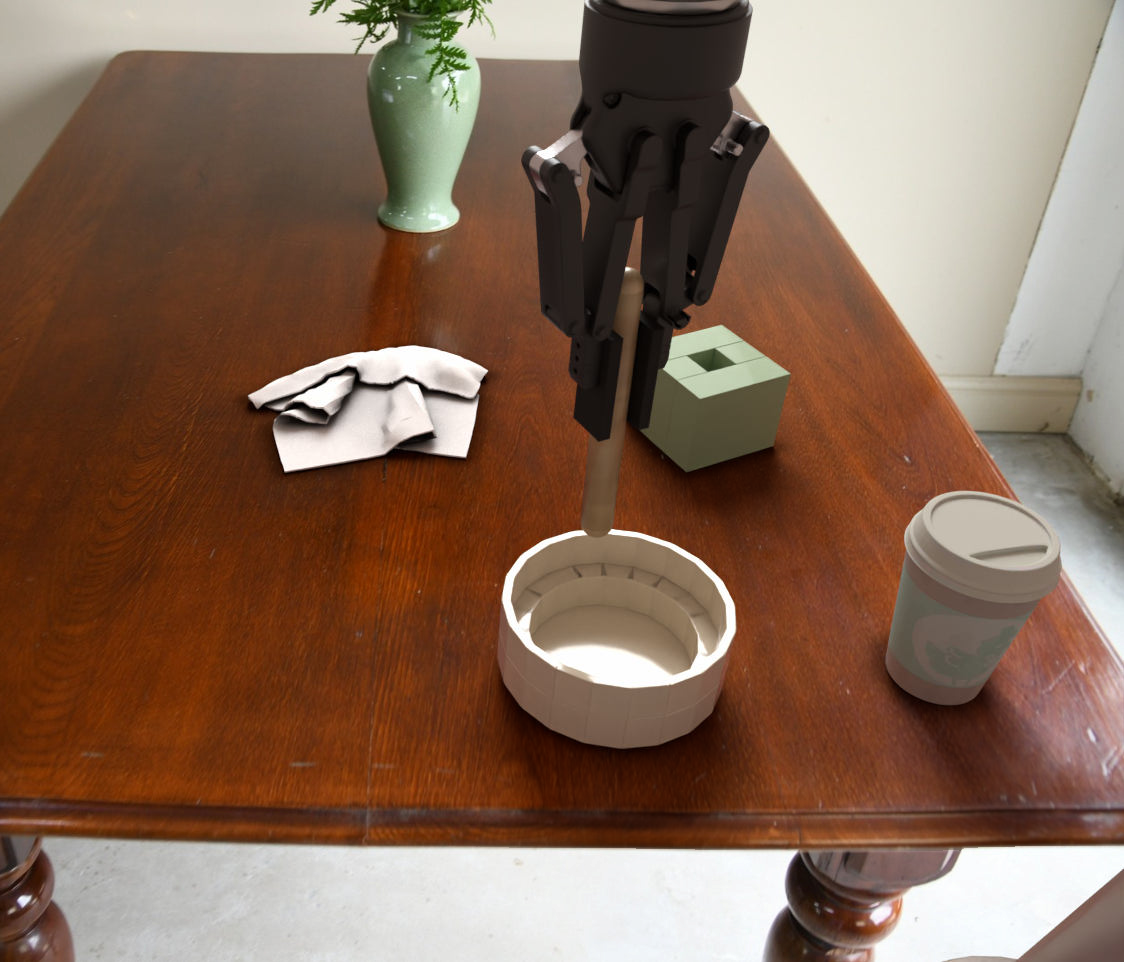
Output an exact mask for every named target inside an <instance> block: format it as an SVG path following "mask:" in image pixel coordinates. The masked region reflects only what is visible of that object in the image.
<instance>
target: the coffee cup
mask: <svg viewBox="0 0 1124 962" xmlns="http://www.w3.org/2000/svg"><path fill="white" fill-rule="evenodd" d="M903 541H904V546H905V554H904V560H903V564H902V569H901V573H900V574H901V575H900V578H899V579H900V580H899V585H898V590H897V594H896V601H895V606H894V611H893V616H892V621H891V627H890V631H889V637H888V643H887V648H886V653H885V659H884V661H885V668H886V670H887V672H888V674H889V676H890V678H892V680H893V681H894V682H895V683H896V684H897V686H899V687H900V688H902V689H903V691H905V692H907V693H908V694H910V695H911V696H913V697H916V698H917V699H920V700H922V701H924V702H927V703H932V704H934V705H935V704H936V705H942V706H959V705H964V704H966V703H968V702H970V701H972V700H974V699H975V698H976V697H977V696H978V695H979V693H980V691H981V690H982V689H983V688H984V686H985V684H986V683H987V682H988V680H989V678H990V677H991V675H992V674H993V672H995V669H996V668H997V666H998V665H999V663H1000V662H1001V661H1002V659H1003V657H1004V656H1005V654H1006V653H1007V652H1008V650H1009V649H1010V647H1011V645H1012V644H1013V642H1014V641H1015V639H1016V638H1017V636H1018V635H1019V633H1020V632H1021V630H1022V629H1023V627H1024V626H1025V624H1026V623H1027V621H1028V620H1029V618H1031V617H1030V616H1031V615H1032V614H1033V613H1034V610H1035V609H1036V608H1037V606H1038V605H1039V603H1040V602H1041V600H1042V599H1043V598H1044V597H1047V596H1049V594H1051V593H1052V592H1054V590H1055V589H1056V588H1057V586H1058V584H1059V583H1060V578H1061V572H1062V568H1063V566H1062V564H1063V563H1062V558H1061V541H1060V538H1059V536H1058V534H1057V532H1056V530H1055V529H1054V528H1053V526H1052V525H1051V524H1050V523H1049V522H1048V521H1047V520H1046V519H1045V518H1044V517H1042V515H1040V514H1039V513H1038V512H1036V511H1035V510H1032V509H1031V508H1029V507H1028V506H1026V505H1023V504H1021V503H1019V502H1017V501H1015V500H1012V499H1010V498H1008V497H1004V496H1001V495H998V494H993V493H989V492H984V491H974V490H956V491H949V492H945V493H942V494H940V495H936V496H935V497H933V498H931V499H930V500H929V501H928V502H927V503H926V504H925V506H924V507H923V508H922V509H921V510H919V511H918V512H917V513H916V514H915V515H914V516H913V517H912V519H911V521H910V523H909V524H908V525H907V526H906V528H905V531H904V537H903Z"/></svg>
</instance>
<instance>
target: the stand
mask: <svg viewBox="0 0 1124 962" xmlns="http://www.w3.org/2000/svg"><path fill="white" fill-rule="evenodd" d="M670 345H671V347H670V350H669V351H670V353H669V359H668V361H667V363H666V365H665V367H664V368H662V369H659V370H658V374H657V380H656V386H655V393H654V399H653V405H652V411H651V417H650V424H649V428H646V429H643V430H639V431H640V433H642V434H643V435H644V436H645V437H646V438H647V439H648V440H649V441H650V442H651V443H653V444H654V445H655V446H656V447H657V448H658V449H660V451H662V452H663V453H664V454H665V455H666V456H667V457H668V458H670V459H671V460H672V461H673V462H674V463H675V464H676V465H677V466H679V468H681V469H682V470H683V471H684V472H685V473H689V472H692V471H695V470H698V469H702V468H706V467H709V466H713V465H715V464H718V463H722V462H726V461H728V460H729V461H730V460H733V459H736V458H738V457H742V456H746V455H749V454H752V453H755V452H758V451H762V450H765V449H768V448H771V447H774V445H775V442H776V437H777V433H778V429H779V425H780V422H781V416H782V413H783V409H784V405H785V400H786V396H787V392H788V389H789V388H788V387H789V384H790V380H791V375H792V374H791V372H789V371H788V370H787V369H785V368H783V367H782V366H780V365H779V364H778V363H777V362H775V361H774V360H772V359H771V358H769V357H768V356H766V355H765V354H763V353H762V352H761V351H759V350H758V349H756V348H755V347H754V346H752V345H751V344H750V343H748V342H747V341H745V340H744V339H743V338H741V337H739V336H738V335H737V334H735V333H734V332H732V330H730V329H728V328H727V327H726V326H724V325H723V324H719V325H715V326H710V327H708V328H703V329H699V330H695V331H692V332H687V333H683V334H680V335H675V336H672V341H671V344H670Z"/></svg>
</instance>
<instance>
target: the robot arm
mask: <svg viewBox="0 0 1124 962" xmlns="http://www.w3.org/2000/svg"><path fill="white" fill-rule="evenodd" d="M753 11H754V7H753V6H752V4H751V3H750V0H584V2H583V12H582V13H583V15H582V23H581V34H580V43H579V44H580V45H579V56H578V69H579V75H580V82H581V94H580V98H579V101H578V103H577V105H576V107H575V109H574V111H573V113H572V115H571V118H570V120H569V131H568V132H567V133H566V134H564V135H562V136H561V137H560V138H559V139H557V140H556V141H555V142H554V143H552V144H551V145H549V146H548V147H547V148H546V149H543V148H541V147H540V146H538V145H531V146H529V147H527V148H526V149H525V150H524V151H523V152H522V155H521V159H520V161H521V166H522V169H523V170H524V173H525V175H526V177H527V180H528V182H529V183H530V186H531V188H532V190H533V196H534V211H535V213H534V215H535V231H536V249H537V264H538V265H537V268H538V283H539V285H538V286H539V300H540V301H539V302H540V313H541V315H542V316H543V317H545V319H546V320H547V321H549V322H550V324H552V325H553V326H554V327H556V329H558V330H559V331H560V332H561V333H562V334H563V335H565V336H566V337H567V338H569V339H571V340H570V351H569V360H568V361H569V362H568V368H567V369H568V370H567V372H568V375H569V377H570V379H572V380H573V381H574V383H576V388H575V389H576V390H575V398H574V407H573V416H572V418H573V419H574V421H576V422H577V423H578V424H579V425H580V426H581V427H582V428H583V429H585V430H586V431H587V433H589V435H590V434H591V435H592V436H593V437H594V438H595V439H596V440H597V441H598V442H600V441H604V440H607V439H610V434H611V427H612V420H613V412H614V405H615V398H616V390H617V383H618V376H619V369H620V361H621V354H622V347H623V339H624V338H622V337H621V336H620V335H619V334H618V333H616V332H615V331H614V330H613V324H614V319H615V315H616V310H617V306H618V301H619V297H620V292H621V287H622V283H623V278H624V274H625V269H626V267H627V265H628V259H629V254H630V250H631V246H632V241H633V236H634V232H635V227H636V224H637V223H636V222H637V220H639V219H641V218H642V224H641V244H640V245H641V246H640V264H639V273H640V274H641V276H642V278H643V282H644V290H643V297H642V308H641V313H640V321H639V328H638V336H637V344H636V351H635V359H634V367H633V375H632V382H631V390H630V398H629V405H628V413H627V421H626V422H628V423H629V425H631V426H632V427H633V428H634V429H635V430H636V431H638V432H639V431H640V430H643V429H646V428H649V424H650V417H651V411H652V405H653V399H654V393H655V386H656V380H657V374H658V370H659V369H662V368H664V367H665V365H666V363H667V361H668V359H669V353H670V351H669V350H670V347H671V345H670V344H671V341H672V337H673V335H674V330H677V331H681V330H683V329H685V328H686V327H687V326H688V325H689V324H690V322H691V319H692V316H691V315H689V314H688V313H687V312H686V311H685V309H687V308H689V307H690V306H692V305H695V306H696V307H701V306H705V304H707V303H708V302H709V301H710V299H711V297H712V294H713V291H714V289H715V285H716V282H717V278H718V276H719V272H720V268H721V265H722V262H723V259H724V256H725V252H726V249H727V245H728V243H729V239H730V236H731V233H732V230H733V226H734V223H735V220H736V216H737V214H738V210H739V207H740V203H741V201H742V197H743V194H744V191H745V187H746V184H747V181H748V177H749V174H750V171H751V170H752V168H753V167H754V165H755V163H756V161H757V159H758V158H759V156H760V155H761V153H762V151H763V149H764V148H765V146H766V144H767V142H769V141H768V140H769V139H770V133H771V131H770V128H769V127H768V126H767V125H766V124H763V123H761V122H760V121H757V120H755V119H753V118H752V117H750V116H747V115H745V114H743V113H742V112H739V111H737V110H734V101H733V97H732V94H731V88H733V87H734V86H735V85H736V84H737V83H738V81H739V80H740V78H741V76H742V73H743V68H744V61H745V56H746V50H747V45H748V40H749V34H750V29H751V23H752V17H753ZM583 159H584V160H585V162H586V164H587V166H588V167H589V175H588V179H587V185H586V196H587V199H588V202H589V206H588V211H587V216H586V222H585V226H584V232H583V214H582V212H583V211H582V201H581V196H580V193H579V190H578V188H580V187H582V185H583V184H584V181H585V179H584V176H582V166H581V165H582V162H583ZM693 272H694V274H693ZM942 962H1124V868H1123V869H1121V870H1120V871H1119V872H1117V874H1115V875H1114V876H1113V877H1112V878H1111V879H1110V880H1108V881H1107V882H1106V883H1105V884H1104V885H1102V887H1100V888H1099V889H1098V890H1097V891H1096V892H1094V893H1093V894H1092V895H1090V896H1089V898H1088V899H1086V900H1085V901H1084V902H1083V903H1082V904H1080V905H1079V906H1078V907H1076V909H1074V910H1073V911H1072V912H1071V913H1069V914H1068V916H1066V917H1065V918H1064V919H1063V920H1061V921H1060V922H1059V923H1058V924H1057V925H1056V926H1054V927H1053V928H1052V929H1051V930H1050V931H1049V932H1048V933H1047V934H1045V935H1044V936H1043V937H1042V938H1041V939H1039V940H1038V941H1037V942H1036V943H1035V944H1034V945H1032V946H1031V947H1030V948H1029V949H1028V950H1026V951H1025V952H1024V953H1023V954H1022V955H1021V956H1020V957H1018V958H1013V957H1006V956H1001V955H1000V956H999V955H997V956H995V955H994V956H993V955H991V956H990V955H969V956H963V957H962V956H961V957H957V958H950V959H946V960H942Z"/></svg>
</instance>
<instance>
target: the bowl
mask: <svg viewBox="0 0 1124 962" xmlns="http://www.w3.org/2000/svg"><path fill="white" fill-rule="evenodd" d="M500 599H501V600H500V612H499V613H500V614H499V629H498V640H497V641H498V643H497V655H496V657H497V662H498V666H499V669H500V674H501V678H502V682H503V684H504V685H505V687H506V688H507V690H508V691H509V692H510V694H511V695H512V697H513V698H514V700H515V701H516V702H517V703H518V705H519V707H521V708H522V709H523V710H524V711H525V712H527V713H528V714H529V715H530V716H532V717H533V718H534V719H535V720H537V721H538V722H540V723H541V724H542V725H543V726H545V727H546V728H547V729H549V730H551V731H554V732H555V733H558V734H561V735H563V736H566V737H568V738H571V739H573V740H575V741H578V742H580V743H582V744H587V745H594V746H601V747H606V748H607V747H608V748H614V749H620V750H621V749H622V750H623V749H633V748H644V747H655V746H660V745H663V744H665V743H668V742H670V741H672V740H675V739H678V738H680V737H682V736H685V735H687V734H689V733H691V732H692V731H694V730H695V729H696V728H697V727H699V725H700V724H701V723H702V722H703V721H705V720H706V719H707V718H708V717H709V716H711V714H712V713H713V712H714V708H715V707H716V704H717V702H718V700H719V698H720V696H721V693H722V692H723V687H724V684H725V679H726V675H727V671H728V667H729V663H730V659H731V655H732V651H733V647H734V643H735V639H736V636H737V631H738V630H737V629H738V628H737V614H736V613H737V611H736V604H735V602H734V600H733V598H732V597H731V594H730V593H729V590H728V589H727V587H726V585H725V583H724V581H723V579H722V578H720V577H719V576H718V575H717V574H716V573H715V572H714V571H713V570H712V569H711V568H710V567H709V566H708V565H707V564H706V563H705V562H704V561H703V560H702V559H700V558H698V557H696V556H695V555H693V554H691V552H688V551H687V550H685V549H684V548H681V547H680V546H678V545H676V544H675V543H673V542H669V541H667V540H663V539H660V538H657V537H654V536H651V535H649V534H645V533H642V532H637V531H628V530H622V529H613V528H612V529H611V531H610V532H609V533H608V534H607V535H605V536H603V537H600V538H594V537H591V536H588V535H587V534H586V533H585V532H584V531H583V529H580V530H573V531H569V532H565V533H562V534H559V535H556V536H553V537H549V538H546V539H544V540H541V541H540V542H539V543H537V544H536V545H534V546H532V547H531V548H529V549H528V550H526V551H525V552H523V553H522V554H521V555H520V556H519V557H518V558H517V560H516V561H515V562H514V564H513V565H512V567H510V569H509V570H508V572H507V573H506V575H505V577H504V582H503V588H502V592H501V598H500Z"/></svg>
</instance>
